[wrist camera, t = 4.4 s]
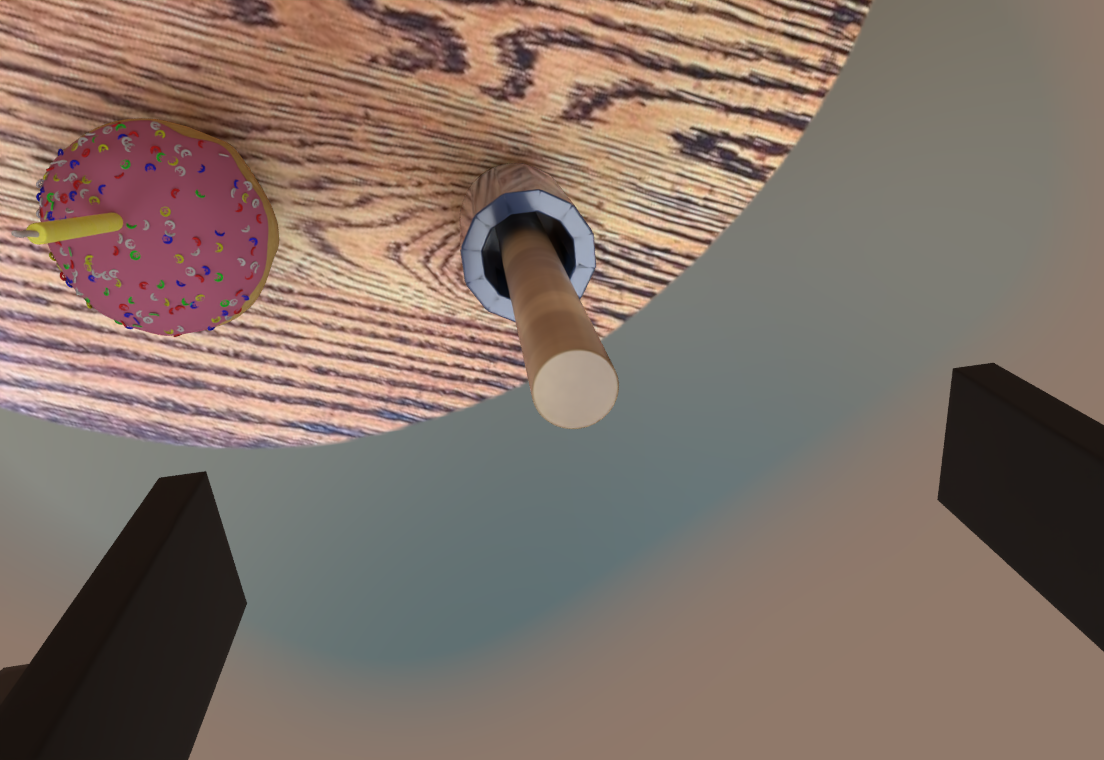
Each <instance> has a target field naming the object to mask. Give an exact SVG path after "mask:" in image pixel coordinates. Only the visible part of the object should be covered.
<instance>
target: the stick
mask: <svg viewBox="0 0 1104 760" xmlns="http://www.w3.org/2000/svg"><path fill="white" fill-rule="evenodd" d="M495 229H496V234H497V239H498V243H499V248H500V252H501V257H502V261H503V266H504V271H505V275H506V280H507V284H508V289H509V293H510V298H511V303H512V307H513V312H514V316H515V321H516V325H517V330H518V335H519V339H520V344H521V348H522V353H523V357H524V362H525V367H526V371H527V376H528V380H529V385H530V389H531V394H532V399H533V402H534V405H535V407H536V409H537V411H538V412H539V413H540V415H541V416H542V417H543V418H544V419H546V420H547V421H548V422H550V423H551V424H553V425H556V426H559V427H562V428H567V429H579V428H585V427H588V426H591V425H593V424H595V423H597V422H598V421H600V420H601V419H603V418H604V417H605V416H606V415H607V414H608V413H609V411H610V410H611V409H612V407H613V406H614V404H615V402H616V399H617V396H618V390H619V381H618V376H617V373H616V371H615V369H614V367H613V365H612V363H611V361H610V359H609V357H608V355H607V353H606V351H605V349H604V347H603V345H602V343H601V341H600V339H599V337H598V335H597V333H596V331H595V329H594V327H593V325H592V323H591V321H590V319H589V317H588V315H587V313H586V311H585V309H584V307H583V305H582V303H581V301H580V299H579V297H578V295H577V293H576V291H575V289H574V287H573V285H572V283H571V281H570V279H569V277H568V275H567V273H566V271H565V269H564V267H563V265H562V263H561V261H560V259H559V257H558V255H557V253H556V251H555V249H554V247H553V245H552V243H551V241H550V239H549V237H548V235H547V233H546V231H545V229H544V227H543V225H542V223H541V221H540V219H539V217H538V215H537V213H536V212H528V213H519V214H512V215H510V216H509V217H508V218H506V219H505V220H503V221H502V222H501V223H499V224H498V225H497V226H495Z"/></svg>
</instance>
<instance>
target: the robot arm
mask: <svg viewBox="0 0 1104 760" xmlns="http://www.w3.org/2000/svg"><path fill="white" fill-rule="evenodd" d="M938 500H939V502H941V503H942V504H943V505H944V506H945V507H946V508H947V509H948V510H949V511H950V512H952V513H953V514H954V515H955V516H956V517H957V518H958V519H959V520H960V521H961V522H962V523H963V524H965V525H966V526H967V527H968V528H969V529H970V530H971V531H972V532H973V533H975V534H976V535H977V536H978V537H979V538H980V539H981V540H982V541H983V542H984V543H986V544H987V545H988V546H989V547H990V548H991V549H992V550H993V551H994V552H995V553H997V554H998V555H999V556H1000V557H1001V558H1002V559H1003V560H1004V561H1005V562H1006V563H1007V564H1008V565H1009V566H1011V567H1012V568H1013V569H1014V570H1015V571H1016V572H1017V573H1018V574H1019V575H1020V576H1022V577H1023V578H1024V579H1025V580H1026V581H1027V582H1028V583H1029V584H1030V585H1031V586H1033V587H1034V588H1035V589H1036V590H1037V591H1038V592H1039V593H1040V594H1041V595H1042V596H1043V597H1045V598H1046V599H1047V600H1048V601H1049V602H1050V603H1051V604H1052V605H1053V606H1054V607H1055V608H1057V609H1058V610H1059V611H1060V612H1061V613H1062V614H1063V615H1064V616H1065V617H1066V618H1067V619H1069V620H1070V621H1071V622H1072V623H1073V624H1074V625H1075V626H1076V627H1077V628H1078V629H1079V630H1081V631H1082V632H1083V633H1084V634H1085V635H1086V636H1087V637H1088V638H1089V639H1091V640H1092V641H1093V642H1094V643H1095V644H1096V645H1097V646H1098V647H1099V648H1100V649H1101V650H1103V651H1104V425H1102V424H1101V423H1099V422H1097V421H1095V420H1094V419H1092V418H1090V417H1088V416H1087V415H1085V414H1083V413H1081V412H1080V411H1078V410H1076V409H1074V408H1072V407H1071V406H1069V405H1067V404H1065V403H1064V402H1062V401H1060V400H1058V399H1057V398H1055V397H1053V396H1051V395H1049V394H1048V393H1046V392H1044V391H1042V390H1040V389H1039V388H1037V387H1035V386H1034V385H1032V384H1030V383H1028V382H1027V381H1025V380H1023V379H1021V378H1019V377H1018V376H1016V375H1014V374H1012V373H1011V372H1009V371H1007V370H1005V369H1004V368H1002V367H1000V366H998V365H996V364H995V363H988V364H981V365H974V366H967V367H959V368H953V372H952V381H951V389H950V398H949V406H948V415H947V423H946V432H945V440H944V449H943V457H942V466H941V475H940V483H939V491H938ZM246 605H247V602H246V599H245V596H244V592H243V589H242V586H241V583H240V579H239V576H238V573H237V570H236V567H235V563H234V560H233V557H232V554H231V550H230V547H229V544H228V541H227V537H226V534H225V531H224V528H223V524H222V521H221V518H220V515H219V512H218V508H217V505H216V502H215V499H214V495H213V492H212V489H211V486H210V483H209V479H208V476H207V473H206V471H205V472H198V473H191V474H183V475H176V476H168V477H161V478H159V479H158V480H157V482H156V483H155V484H154V486H153V488H152V489H151V490H150V492H149V493H148V495H147V496H146V497H145V499H144V500H143V502H142V503H141V505H140V506H139V508H138V509H137V510H136V512H135V513H134V515H133V516H132V517H131V519H130V520H129V522H128V523H127V525H126V526H125V527H124V529H123V530H122V532H121V533H120V535H119V536H118V538H117V539H116V540H115V542H114V543H113V545H112V546H111V548H110V549H109V550H108V552H107V553H106V555H105V556H104V558H103V559H102V560H101V562H100V563H99V565H98V566H97V568H96V569H95V570H94V572H93V573H92V575H91V576H90V578H89V579H88V580H87V582H86V583H85V585H84V586H83V588H82V589H81V590H80V592H79V593H78V595H77V597H76V598H75V599H74V600H73V602H72V603H71V605H70V606H69V608H68V609H67V611H66V612H65V613H64V615H63V616H62V618H61V620H60V621H59V622H58V624H57V625H56V626H55V628H54V629H53V631H52V632H51V634H50V635H49V636H48V638H47V639H46V641H45V642H44V643H43V645H42V647H41V648H40V649H39V651H38V652H37V654H36V655H35V656H34V658H33V659H32V661H31V662H30V664H26V665H19V666H13V667H6V668H3V669H2V670H1V671H0V760H188V758H189V756H190V753H191V751H192V748H193V745H194V743H195V740H196V737H197V734H198V732H199V729H200V727H201V724H202V722H203V719H204V716H205V713H206V711H207V708H208V706H209V703H210V700H211V698H212V695H213V692H214V690H215V687H216V684H217V682H218V679H219V676H220V674H221V671H222V668H223V666H224V663H225V660H226V658H227V655H228V652H229V650H230V647H231V644H232V642H233V639H234V636H235V634H236V631H237V629H238V626H239V623H240V621H241V618H242V615H243V613H244V610H245V607H246Z"/></svg>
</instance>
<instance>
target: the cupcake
mask: <svg viewBox="0 0 1104 760" xmlns="http://www.w3.org/2000/svg"><path fill="white" fill-rule="evenodd" d="M60 151H61V153H60ZM50 164H51V165H50V167H49V168H48V169H46V170H47V172H46V174H45V175H44V177H43V179H40V180H38V181H37V183H36V186H37V187H38V188H41V189H40V193H38V194H37V196H36V198H37V200H38V201H39V202H40V207H39V209H38V210H37V212H36V216H37V217H38V218H40V221H41V222H39V223H33V224H31V225H29V226H28V227H27V229H26V230H23V231H17V230H14V231H12V235H13V236H15V237H19V238H24V237H28V239H29V240H30V241H31V242H32V243H34V244H39V245H40V244H46V243H48V245H49V248H50V250H51V252H50V253H49V257H50V258H51V259H52V260H53V261H57V263H56V264H57V266H58V268H59V269H60V270H61V271H62V272H61V273H60V278H61V279H62V280H63V281H66V284H67V285H68V286H69V287H71V288H74V289H75V290H76V295H78V294H79V295H81V296H82V297H83V298H84V299H85V301H86V304H87V306H88V308H90V309H91V308H92V306H93V307H94V308H95V309H97V310H98V311H99V312H100V313H102V314H103V315H105V316H107V317H109V318H111V319H113V320H114V321H115V322H116V323H117V324H121V325H122V324H123V325H124V326H125V327H126V328H127V329H133V328H136V329H139V330H142V331H146V332H150V333H153V334H158V335H165V336H172V335H174V337H177V336H180V335H182V334H186V333H191V332H197V331H203V330H206V329H208V330H210V331H211V330H213V329H214V328H215V327H216V326H220V325H223V324H225V323H228V322H230V321H232V320H234V319H235V318H237V317H238V316H240V315H241V314H242V313H244V312H245V311H246V310H247V309H249V308H250V307H251V306H252V305H253V303H254V302H255V301H256V300H257V298H258V297H259V295H260V293H261V291H262V290H263V287H264V285H265V283H266V280H267V277H268V275H269V271H270V268H271V265H272V262H273V259H274V256H275V254H276V252H277V249H278V246H279V231H278V224H277V220H276V217H275V214H274V211H273V209H272V206H271V204H270V202H269V200H268V198H267V196H266V195H265V193H264V191H263V189H262V188H261V186H260V184H259V183H258V181H257V179H256V178H255V176H254V175H253V173H252V172H251V170H250V169H249V168H248V166H247V165H246V163H245V162H244V160H243V159H242V157H241V156H240V155H239V153H238V152H237V151H236V150H235V149H234V148H233V147H232V146H231V145H230V144H228V143H226V142H225V141H222V140H220V139H217V138H215V137H212V136H210V135H207V134H205V133H203V132H200V131H198V130H195V129H192V128H190V127H186V126H183V125H180V124H176V123H172V122H168V121H164V120H158V119H143V118H140V119H126V120H120V121H115V122H111V123H108V124H105V125H102V126H100V127H98V128H95V129H94V130H92V131H90V132H88V133H85V135H83V136H82V137H80V138H79V139H78V140H76V141H75V142H74V143H72V144H71V145H70V146H68V147H67V148H66V149H65V150H62V149H59V150H58V157H57V158H56V159H55V160H54V161H53V162H52V163H50ZM41 181H42V182H43V183H41ZM39 183H40V184H39ZM41 184H42V185H41ZM40 185H41V186H40ZM39 195H40V197H39ZM39 213H40V216H39ZM51 255H52V256H53V258H52V256H51ZM54 258H55V259H54ZM63 274H64V275H63ZM62 275H63V276H64V278H63V277H62ZM65 277H66V278H65ZM68 283H69V284H68ZM70 284H71V285H70ZM117 321H118V322H117ZM119 322H120V323H119ZM127 326H129V327H127ZM212 327H213V328H212ZM210 328H211V329H210Z"/></svg>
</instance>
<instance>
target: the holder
mask: <svg viewBox="0 0 1104 760" xmlns="http://www.w3.org/2000/svg"><path fill="white" fill-rule="evenodd" d="M528 212H536V213H537V215H538V217H539V219H540V221H541V223H542V225H543V227H544V229H545V231H546V233H547V235H548V237H549V239H550V241H551V243H552V245H553V247H554V249H555V251H556V253H557V255H558V257H559V259H560V261H561V263H562V265H563V267H564V269H565V271H566V273H567V275H568V277H569V279H570V281H571V283H572V285H573V287H574V289H575V291H576V293H577V295H578V297H579V299H581V297H582V296H583V294H584V291H585V289H586V287H587V285H588V283H589V281H590V279H591V277H592V275H593V273H594V271H595V268H596V259H595V245H594V234H593V232H592V230H591V228H590V227H589V226H588V224H587V223H586V221H585V220H584V218H583V217H582V215H581V214H580V213H579V211H578V210H577V208H576V207H575V205H574V204H573V203H572V202H571V200H570V199H569V198H568V197H567V195H566V194H565V193H564V191H563V190H562V189H561V188H560V186H559V185H558V184H557V183H556V181H555V180H554V179H553V177H551V176H550V175H549V174H547V173H545V172H543V171H541V170H540V169H538V168H536V167H533V166H530V165H527V164H523V163H522V164H520V163H509V164H503V165H499V166H496V167H494V168H492V169H490V170H488V171H486V172H485V173H483V174H482V175H481V176H480V177H478V178H477V179H476V180H475V182H474V183H472V185H471V186H470V188H469V190H468V192H467V194H466V196H465V198H464V201H463V205H462V208H461V210H460V251H461V258H462V265H463V272H464V279H465V283H466V285H467V287H468V288H469V289H470V290H471V292H472V293H473V294H474V295H475V297H476V298H477V299H478V300H479V302H480V303H481V304H482V305H483V307H484V308H485V309H486V310H487V311H489V312H491V313H494V314H496V315H499V316H501V317H504V318H506V319H509V320H511V321H514V322H516V321H515V316H514V312H513V307H512V303H511V298H510V293H509V289H508V284H507V280H506V275H505V271H504V266H503V261H502V257H501V252H500V248H499V243H498V239H497V234H496V229H495V226H497V225H498V224H499V223H501V222H502V221H503V220H505V219H506V218H508V217H509V216H510V215H512V214H519V213H528Z"/></svg>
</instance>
